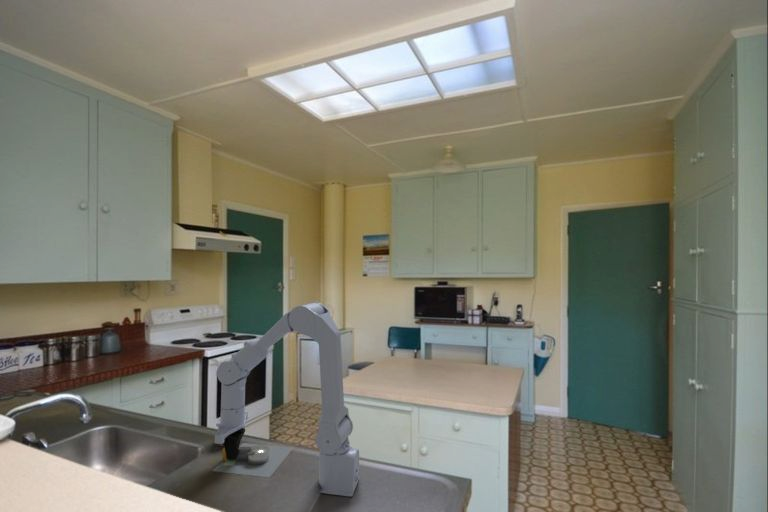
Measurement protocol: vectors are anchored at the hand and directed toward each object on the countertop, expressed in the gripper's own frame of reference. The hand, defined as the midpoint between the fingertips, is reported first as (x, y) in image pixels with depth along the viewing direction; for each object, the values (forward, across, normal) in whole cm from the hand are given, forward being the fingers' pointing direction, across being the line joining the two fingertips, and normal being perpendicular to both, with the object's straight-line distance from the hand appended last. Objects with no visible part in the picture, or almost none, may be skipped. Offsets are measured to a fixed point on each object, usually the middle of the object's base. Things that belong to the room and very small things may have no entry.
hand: (231, 459), depth 100 cm
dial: (+1, -2, +3) cm, 4 cm away
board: (+2, -3, +5) cm, 6 cm away
